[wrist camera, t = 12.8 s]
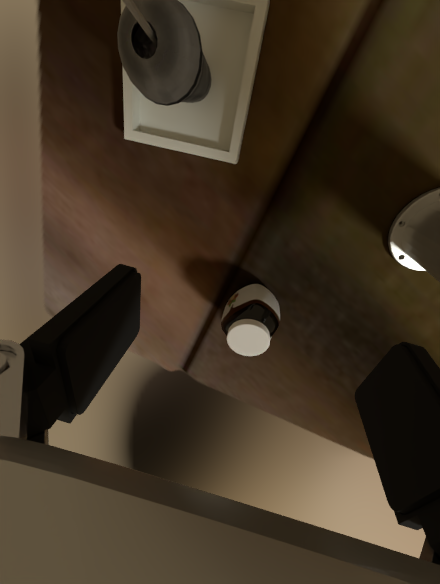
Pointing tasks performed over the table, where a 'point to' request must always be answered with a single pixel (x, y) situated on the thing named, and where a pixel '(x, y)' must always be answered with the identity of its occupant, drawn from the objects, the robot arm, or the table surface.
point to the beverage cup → (163, 51)
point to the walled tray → (224, 85)
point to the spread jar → (250, 319)
